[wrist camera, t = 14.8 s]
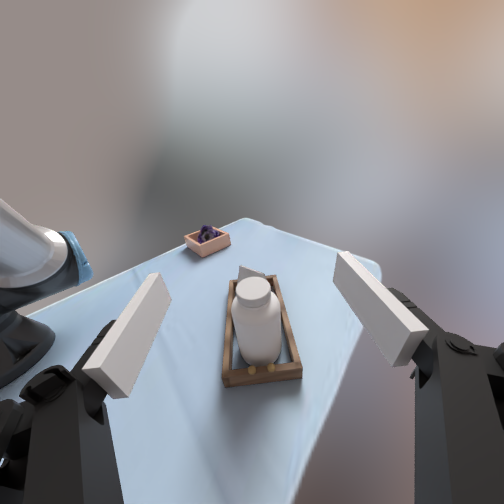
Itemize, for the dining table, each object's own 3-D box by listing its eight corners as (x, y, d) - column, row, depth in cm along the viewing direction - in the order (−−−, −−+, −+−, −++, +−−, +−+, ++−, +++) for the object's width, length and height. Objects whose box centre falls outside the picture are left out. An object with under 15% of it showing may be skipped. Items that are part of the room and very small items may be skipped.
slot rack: (302, 378, 29) (302, 367, 28) (225, 388, 29) (221, 377, 28) (276, 283, 50) (275, 273, 49) (231, 288, 50) (229, 279, 49)
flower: (192, 228, 78) (200, 222, 70) (211, 230, 83) (220, 224, 75) (192, 249, 77) (200, 245, 69) (211, 250, 82) (221, 247, 74)
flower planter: (202, 257, 68) (199, 245, 65) (187, 247, 77) (183, 236, 75) (231, 244, 74) (228, 233, 72) (213, 236, 84) (211, 226, 82)
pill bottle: (277, 375, 30) (271, 311, 23) (233, 361, 33) (216, 301, 25) (285, 333, 36) (283, 273, 29) (248, 325, 39) (238, 268, 32)
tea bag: (262, 313, 42) (258, 279, 37) (240, 302, 46) (234, 269, 41) (271, 303, 44) (268, 269, 39) (249, 293, 48) (244, 261, 43)
